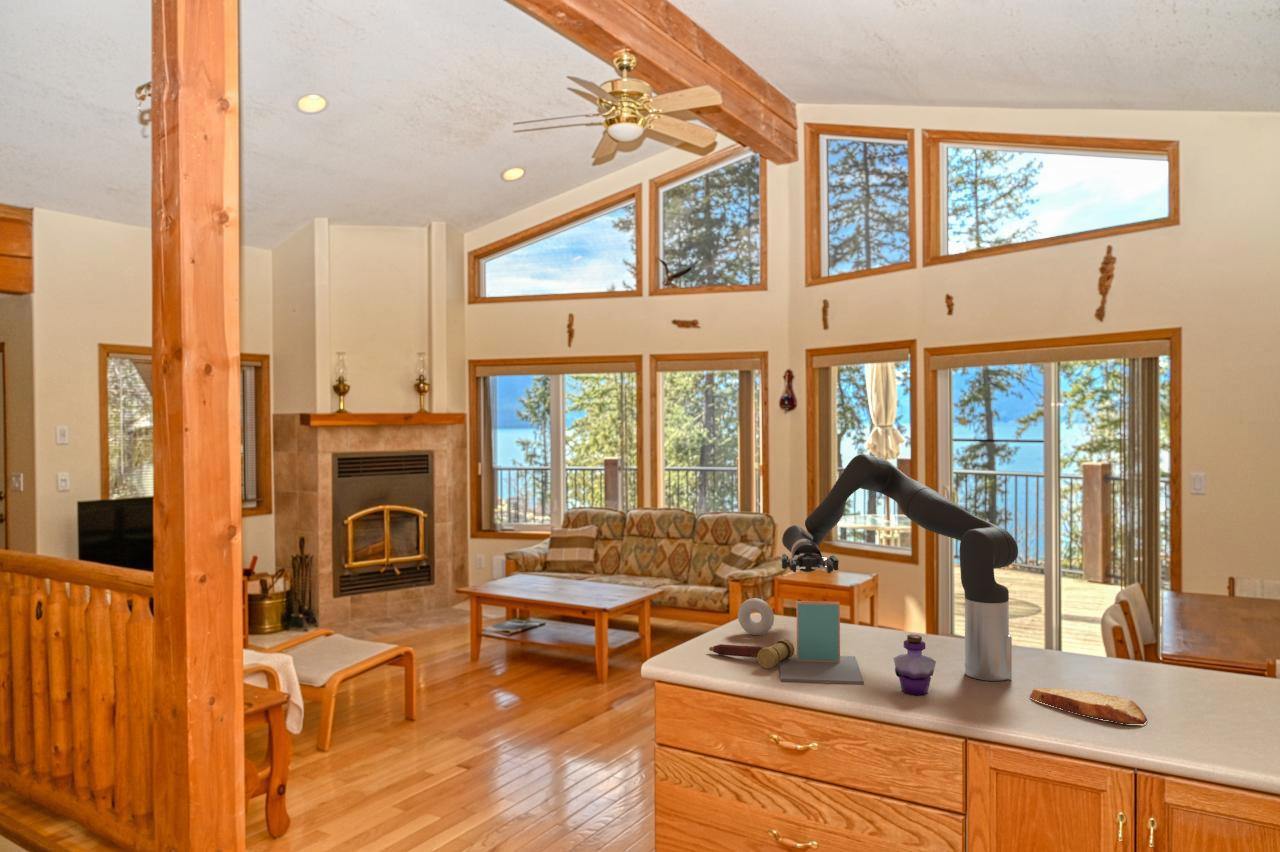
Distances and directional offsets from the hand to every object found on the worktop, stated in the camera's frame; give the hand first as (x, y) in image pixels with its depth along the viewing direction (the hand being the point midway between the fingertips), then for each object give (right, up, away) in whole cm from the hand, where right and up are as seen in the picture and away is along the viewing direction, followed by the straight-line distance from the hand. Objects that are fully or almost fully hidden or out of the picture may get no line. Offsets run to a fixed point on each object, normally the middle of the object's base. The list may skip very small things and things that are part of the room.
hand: (812, 568), depth 215 cm
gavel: (-17, -21, -7) cm, 28 cm away
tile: (-1, -20, -10) cm, 23 cm away
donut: (-12, -21, +17) cm, 29 cm away
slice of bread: (+46, -21, -44) cm, 67 cm away
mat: (-1, -21, -15) cm, 26 cm away
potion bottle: (+15, -21, -32) cm, 41 cm away
